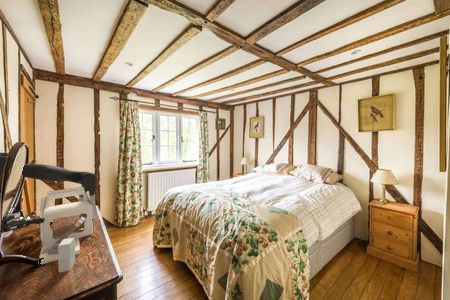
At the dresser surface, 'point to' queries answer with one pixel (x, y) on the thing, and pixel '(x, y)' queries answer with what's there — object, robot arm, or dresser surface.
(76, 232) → the gable box
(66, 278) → the dresser surface
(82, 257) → the dresser surface
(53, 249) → the switch panel
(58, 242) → the breaker lever
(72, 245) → the skincare box
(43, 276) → the dresser surface
